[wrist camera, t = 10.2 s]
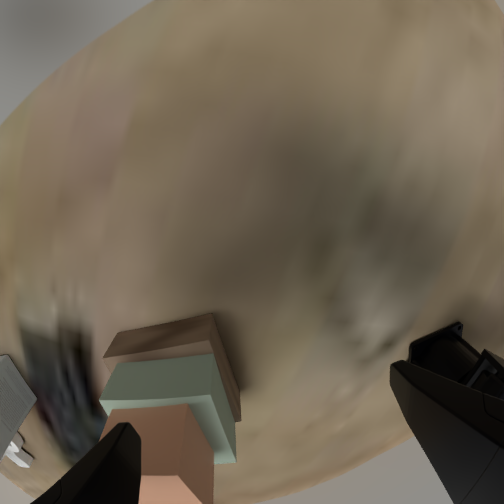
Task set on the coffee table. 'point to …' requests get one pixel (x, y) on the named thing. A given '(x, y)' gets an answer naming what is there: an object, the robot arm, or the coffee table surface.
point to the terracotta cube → (170, 454)
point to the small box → (12, 401)
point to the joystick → (18, 452)
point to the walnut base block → (177, 349)
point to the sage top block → (178, 395)
